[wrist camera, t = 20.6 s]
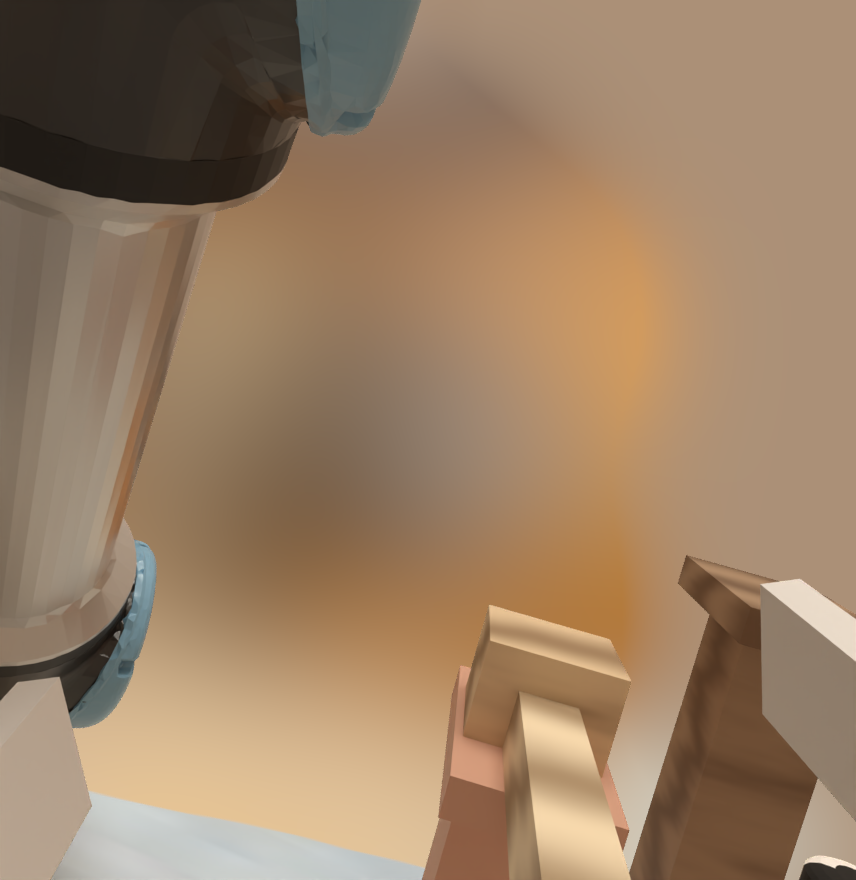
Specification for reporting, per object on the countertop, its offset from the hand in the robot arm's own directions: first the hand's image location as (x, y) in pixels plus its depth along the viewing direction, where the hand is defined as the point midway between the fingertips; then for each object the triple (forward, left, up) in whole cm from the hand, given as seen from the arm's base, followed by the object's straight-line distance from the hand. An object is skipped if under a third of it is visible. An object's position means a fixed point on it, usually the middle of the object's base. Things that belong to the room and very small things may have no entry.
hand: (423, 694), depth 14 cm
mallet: (-15, +12, -11) cm, 22 cm away
